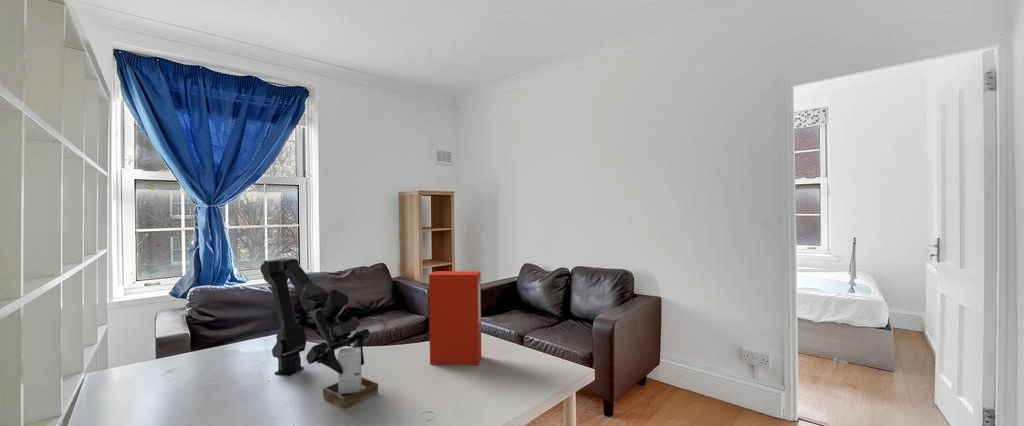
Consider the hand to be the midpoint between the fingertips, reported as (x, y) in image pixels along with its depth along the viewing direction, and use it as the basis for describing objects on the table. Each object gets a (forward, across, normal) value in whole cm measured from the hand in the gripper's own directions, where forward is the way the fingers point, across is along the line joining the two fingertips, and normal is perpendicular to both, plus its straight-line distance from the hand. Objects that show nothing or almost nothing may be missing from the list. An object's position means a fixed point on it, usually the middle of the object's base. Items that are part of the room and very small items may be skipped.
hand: (352, 368), depth 117 cm
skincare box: (+4, 0, +6) cm, 7 cm away
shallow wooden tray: (+5, 0, +7) cm, 8 cm away
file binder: (+13, +36, -1) cm, 38 cm away
